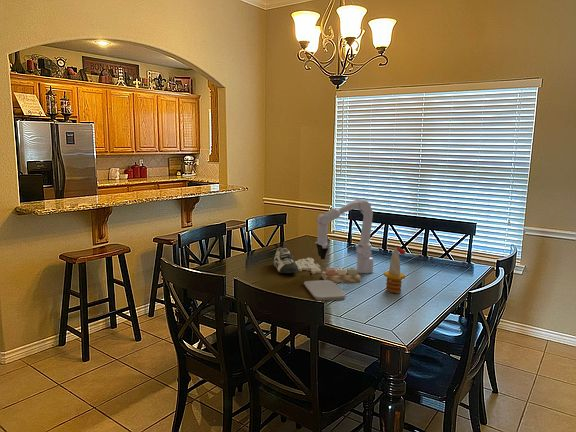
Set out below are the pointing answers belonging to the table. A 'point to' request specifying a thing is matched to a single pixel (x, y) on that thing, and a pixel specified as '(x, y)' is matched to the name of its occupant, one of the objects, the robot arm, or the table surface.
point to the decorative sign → (308, 265)
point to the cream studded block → (341, 271)
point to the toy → (394, 272)
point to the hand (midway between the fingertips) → (321, 257)
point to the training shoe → (284, 261)
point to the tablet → (324, 290)
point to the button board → (341, 277)
